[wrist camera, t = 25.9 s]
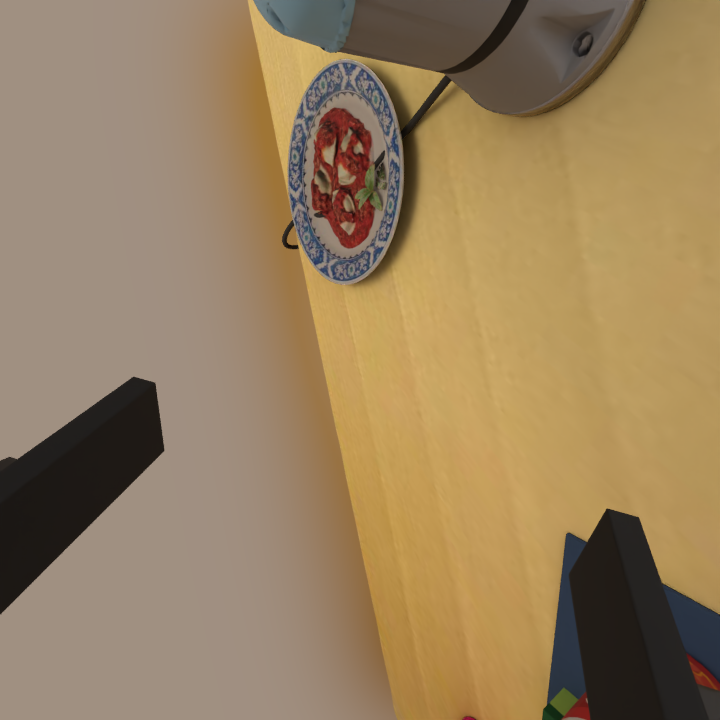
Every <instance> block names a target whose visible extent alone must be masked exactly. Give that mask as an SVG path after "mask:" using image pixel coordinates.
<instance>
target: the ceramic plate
mask: <svg viewBox="0 0 720 720" xmlns="http://www.w3.org/2000/svg"><path fill="white" fill-rule="evenodd" d="M384 150H385V156H384V159H383V161H382V162H381V163H380V164H379V166H378V167H377V168H376V170H375V164H373V163H374V162H375V161H376V159H377V158H378V157H379V156H380V154H381V153H382V152H383V151H384ZM374 170H375V171H374ZM403 185H404V156H403V145H402V137H401V132H400V128H399V123H398V119H397V115H396V112H395V109H394V106H393V103H392V101H391V99H390V96H389V94H388V92H387V90H386V89H385V87H384V85H383V84H382V82H381V81H380V79H379V78H378V77H377V75H376V74H375V73H374V72H373V71H372V70H370V69H369V68H368V67H367V66H365V65H364V64H362V63H360V62H358V61H355V60H351V59H340V60H337V61H334V62H332V63H330V64H328V65H327V66H326V67H324V68H323V69H322V70H321V71H320V72H319V73H318V74H317V75H316V76H315V77H314V79H313V80H312V82H311V83H310V85H309V86H308V88H307V90H306V91H305V93H304V95H303V97H302V100H301V103H300V105H299V108H298V110H297V113H296V116H295V119H294V124H293V129H292V134H291V139H290V146H289V156H288V191H289V199H290V208H291V213H292V217H293V222H294V226H295V229H296V232H297V236H298V238H299V241H300V243H301V245H302V248H303V250H304V252H305V254H306V256H307V257H308V259H309V261H310V262H311V264H312V265H313V266H314V268H315V269H316V270H317V271H318V272H319V273H320V274H321V275H322V276H323V277H325V278H326V279H328V280H329V281H331V282H334V283H336V284H341V285H348V284H353V283H356V282H358V281H360V280H362V279H364V278H366V277H367V276H368V275H369V274H371V273H372V272H373V271H374V270H375V268H376V267H377V266H378V265H379V263H380V262H381V260H382V259H383V257H384V255H385V254H386V252H387V250H388V248H389V246H390V243H391V241H392V238H393V236H394V233H395V230H396V226H397V222H398V219H399V214H400V209H401V203H402V196H403ZM315 213H318V214H321V213H322V214H323V215H325V216H326V217H322V218H317V217H315V216H314V214H315Z"/></svg>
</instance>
